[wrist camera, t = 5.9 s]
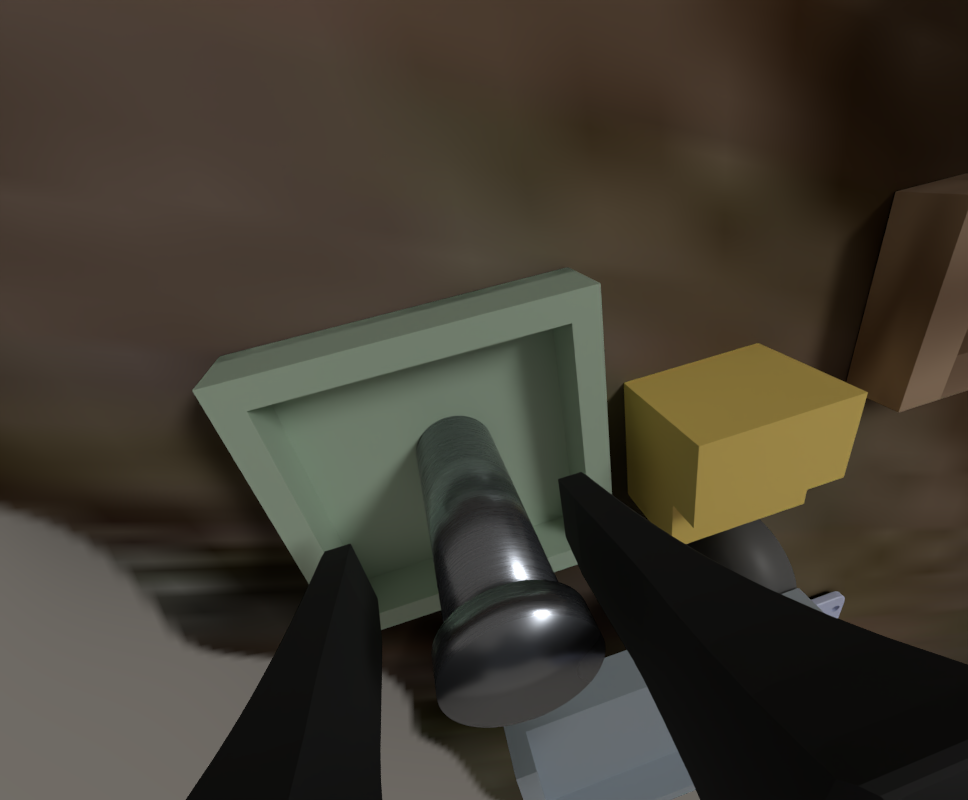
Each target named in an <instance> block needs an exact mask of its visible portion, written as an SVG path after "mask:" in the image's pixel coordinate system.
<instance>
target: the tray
mask: <svg viewBox="0 0 968 800" xmlns="http://www.w3.org/2000/svg"><path fill="white" fill-rule="evenodd" d="M192 391H193V393H194V394H195V396H196V398H197V399H198V401H199V403H200V404H201V406H202V408H203V409H204V411H205V413H206V414H207V416H208V418H209V419H210V421H211V423H212V424H213V426H214V428H215V429H216V431H217V433H218V434H219V436H220V438H221V439H222V441H223V443H224V444H225V446H226V447H227V449H228V451H229V452H230V454H231V456H232V457H233V459H234V461H235V462H236V464H237V466H238V467H239V469H240V471H241V472H242V474H243V476H244V477H245V479H246V481H247V482H248V484H249V486H250V487H251V489H252V491H253V492H254V494H255V496H256V497H257V499H258V501H259V502H260V504H261V506H262V507H263V509H264V510H265V512H266V514H267V515H268V517H269V519H270V520H271V522H272V524H273V525H274V527H275V529H276V530H277V532H278V534H279V535H280V537H281V539H282V540H283V542H284V544H285V545H286V547H287V549H288V550H289V552H290V554H291V555H292V557H293V559H294V560H295V562H296V564H297V565H298V567H299V568H300V570H301V572H302V573H303V575H304V577H305V578H306V580H307V582H308V583H310V581H311V579H312V577H313V574H314V572H315V570H316V568H317V565H318V563H319V561H320V559H321V557H322V555H323V553H324V552H325V551H328V550H331V549H334V548H338V547H341V546H344V545H347V544H350V543H351V545H352V547H353V549H354V551H355V553H356V555H357V557H358V559H359V561H360V563H361V565H362V567H363V569H364V571H365V574H366V576H367V578H368V580H369V582H370V584H371V586H372V588H373V590H374V592H375V594H376V596H377V598H378V605H379V614H380V624H381V630H383V629H386V628H389V627H392V626H395V625H398V624H401V623H404V622H407V621H410V620H413V619H416V618H419V617H422V616H425V615H428V614H431V613H434V612H437V611H440V610H441V606H440V599H439V593H438V587H437V581H436V575H435V569H434V562H433V556H432V550H431V544H430V538H429V532H428V525H427V519H426V513H425V507H424V501H423V495H422V488H421V482H420V476H419V470H418V464H417V458H416V447H417V443H418V441H419V439H420V437H421V435H422V434H423V432H424V431H425V430H426V429H427V428H428V427H429V426H431V425H432V424H433V423H435V422H437V421H439V420H441V419H443V418H446V417H451V416H467V417H471V418H474V419H476V420H478V421H480V422H481V423H482V424H484V425H485V426H486V427H487V429H488V430H489V432H490V434H491V436H492V438H493V440H494V443H495V445H496V447H497V449H498V451H499V454H500V456H501V458H502V460H503V462H504V464H505V467H506V469H507V471H508V473H509V475H510V478H511V480H512V482H513V484H514V486H515V488H516V491H517V493H518V495H519V497H520V499H521V502H522V504H523V506H524V508H525V510H526V513H527V515H528V517H529V519H530V521H531V523H532V526H533V528H534V530H535V532H536V534H537V537H538V539H539V541H540V543H541V545H542V547H543V550H544V552H545V554H546V556H547V558H548V561H549V563H550V565H551V567H552V569H553V571H554V572H556V571H559V570H562V569H565V568H568V567H571V566H574V565H577V561H576V559H575V557H574V555H573V552H572V550H571V548H570V546H569V543H568V541H567V539H566V535H565V528H564V521H563V513H562V506H561V498H560V491H559V483H558V479H560V478H563V477H566V476H569V475H573V474H576V473H579V472H582V473H584V474H586V475H587V476H588V477H590V478H591V479H592V480H594V481H595V482H596V483H597V484H599V485H600V486H601V487H603V488H604V489H605V490H607V491H608V492H609V493H610V494H612V485H611V466H610V448H609V430H608V412H607V393H606V375H605V357H604V338H603V320H602V302H601V284H600V283H599V282H597V281H595V280H593V279H591V278H589V277H587V276H585V275H583V274H580V273H578V272H576V271H574V270H572V269H570V268H568V267H567V268H563V269H559V270H555V271H551V272H547V273H543V274H540V275H536V276H532V277H528V278H524V279H520V280H516V281H512V282H508V283H504V284H500V285H497V286H493V287H489V288H485V289H481V290H477V291H473V292H469V293H465V294H461V295H458V296H454V297H450V298H446V299H442V300H438V301H434V302H430V303H426V304H422V305H419V306H415V307H411V308H407V309H403V310H399V311H395V312H391V313H387V314H383V315H379V316H376V317H372V318H368V319H364V320H360V321H356V322H352V323H348V324H344V325H340V326H337V327H333V328H329V329H325V330H321V331H317V332H313V333H309V334H305V335H301V336H298V337H294V338H290V339H286V340H282V341H278V342H274V343H270V344H266V345H262V346H258V347H255V348H251V349H247V350H243V351H239V352H235V353H231V354H227V355H223V356H220V357H219V358H218V359H217V360H216V362H215V363H214V364H213V365H212V367H211V368H210V369H209V370H208V372H207V373H206V374H205V375H204V377H203V378H202V379H201V380H200V382H199V383H198V384H197V385H196V386H195V388H194V389H193V390H192Z"/></svg>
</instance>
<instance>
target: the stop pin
mask: <svg viewBox="0 0 968 800" xmlns="http://www.w3.org/2000/svg"><path fill="white" fill-rule="evenodd" d="M416 458H417V464H418V470H419V476H420V482H421V488H422V495H423V501H424V507H425V513H426V519H427V525H428V532H429V538H430V544H431V550H432V556H433V562H434V569H435V575H436V581H437V587H438V593H439V599H440V606H441V612H442V618H443V624H442V626H441V627H440V628H439V630H438V632H437V634H436V636H435V638H434V641H433V644H432V651H431V654H432V664H433V672H434V680H435V688H436V695H437V701H438V704H439V707H440V708H441V710H442V711H443V712H444V714H445V715H446V716H448V717H449V718H450V719H452V720H454V721H456V722H458V723H460V724H464V725H467V726H473V727H482V728H493V727H504V726H509V725H515V724H519V723H523V722H526V721H529V720H532V719H535V718H538V717H540V716H543V715H545V714H547V713H549V712H551V711H553V710H555V709H557V708H559V707H560V706H562V705H564V704H565V703H567V702H568V701H570V700H571V699H573V698H574V697H575V696H576V695H578V694H579V693H580V692H581V691H582V690H583V689H584V688H586V687H587V685H588V684H589V683H590V682H591V681H592V680H593V679H594V677H595V676H596V674H597V673H598V671H599V669H600V668H601V666H602V663H603V661H604V657H605V642H604V639H603V637H602V634H601V632H600V630H599V628H598V626H597V624H596V622H595V620H594V618H593V616H592V614H591V612H590V610H589V608H588V606H587V604H586V602H585V600H584V599H583V598H582V596H581V595H580V594H579V593H578V592H577V591H576V590H574V589H573V588H571V587H569V586H567V585H565V584H562V583H559V582H558V580H557V578H556V576H555V574H554V571H553V569H552V567H551V565H550V563H549V561H548V558H547V556H546V554H545V552H544V550H543V547H542V545H541V543H540V541H539V539H538V537H537V534H536V532H535V530H534V528H533V526H532V523H531V521H530V519H529V517H528V515H527V513H526V510H525V508H524V506H523V504H522V502H521V499H520V497H519V495H518V493H517V491H516V488H515V486H514V484H513V482H512V480H511V478H510V475H509V473H508V471H507V469H506V467H505V464H504V462H503V460H502V458H501V456H500V454H499V451H498V449H497V447H496V445H495V443H494V440H493V438H492V436H491V434H490V432H489V430H488V429H487V427H486V426H485V425H484V424H482V423H481V422H480V421H478V420H476V419H474V418H471V417H467V416H451V417H446V418H443V419H441V420H439V421H437V422H435V423H433V424H432V425H431V426H429V427H428V428H427V429H426V430H425V431H424V432H423V434H422V435H421V437H420V439H419V441H418V443H417V447H416Z"/></svg>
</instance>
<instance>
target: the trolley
mask: <svg viewBox="0 0 968 800" xmlns="http://www.w3.org/2000/svg"><path fill="white" fill-rule="evenodd" d="M686 545H688V546H689V547H691V548H693V549H694V550H696V551H698V552H699V553H701V554H703V555H705V556H706V557H708V558H710V559H712V560H714V561H715V562H717V563H719V564H721V565H723V566H725V567H727V568H728V569H730V570H732V571H734V572H736V573H738V574H740V575H742V576H744V577H746V578H748V579H750V580H752V581H754V582H756V583H758V584H760V585H762V586H764V587H766V588H768V589H770V590H773V591H775V592H777V593H779V594H782V595H784V596H786V597H789V598H791V599H793V600H795V601H798V602H800V603H802V604H805V605H807V606H809V607H811V608H814V609H816V610H818V611H821V612H823V611H822V610H821V609H820V608H819V607H818V606H817V605H816V604H815V603H814V602H813V601H812V600H811V599H810V598H808V597H807V596H806V595H805V594H804V593H803V592H802V591H801V590H800V589H799V588H796V580H795V576H794V573H793V570H792V567H791V564H790V562H789V560H788V557H787V556H786V554H785V552H784V550H783V548H782V547H781V545H780V543H779V542H778V540H777V539H776V537H775V536H774V535H773V534H772V532H771V531H770V530H769V529H768V528H767V526H766V525H765V524H764V523H763V522H762V521H761V520H760V519H758V520H755V521H752V522H749V523H746V524H743V525H740V526H737V527H734V528H731V529H729V530H726V531H723V532H720V533H717V534H714V535H711V536H708V537H705V538H702V539H700V540H697V541H694V542H691V543H688V544H686ZM823 613H824V612H823ZM504 730H505V734H506V739H507V743H508V747H509V751H510V755H511V759H512V764H513V768H514V772H515V776H516V780H517V783H518V786H519V788H520V791H521V794H522V797H523V800H672V799H674V798H677V797H679V796H682V795H684V794H687V793H689V792H691V791H694V790H696V789H695V787H694V785H693V782H692V780H691V778H690V776H689V774H688V771H687V769H686V767H685V765H684V763H683V761H682V759H681V757H680V754H679V752H678V750H677V748H676V746H675V744H674V742H673V740H672V737H671V735H670V733H669V731H668V729H667V727H666V725H665V723H664V721H663V718H662V716H661V714H660V712H659V710H658V708H657V706H656V704H655V702H654V700H653V698H652V696H651V694H650V692H649V690H648V687H647V685H646V683H645V681H644V679H643V677H642V676H641V674H640V672H639V670H638V668H637V666H636V665H635V663H634V661H633V659H632V657H631V656H630V654H629V652H628V651H627V650H625V651H622V652H620V653H617V654H614V655H611V656H608V657H606V658H604V661H603V663H602V666H601V668H600V669H599V671H598V673H597V674H596V676H595V677H594V679H593V680H592V681H591V682H590V683H589V684H588V685H587V687H586V688H584V689H583V690H582V691H581V692H580V693H579V694H578V695H576V696H575V697H574V698H573V699H571V700H570V701H568V702H567V703H565V704H564V705H562V706H560V707H559V708H557V709H555V710H553V711H551V712H549V713H547V714H545V715H543V716H540V717H538V718H535V719H532V720H529V721H526V722H523V723H519V724H515V725H509V726H504Z"/></svg>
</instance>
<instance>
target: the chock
mask: <svg viewBox="0 0 968 800" xmlns="http://www.w3.org/2000/svg"><path fill="white" fill-rule="evenodd" d="M867 394H868V392H866V391H864V390H862V389H859V388H857V387H855V386H853V385H851V384H848V383H846V382H844V381H842V380H839V379H837V378H835V377H833V376H830V375H828V374H826V373H824V372H821V371H819V370H817V369H815V368H813V367H810V366H808V365H806V364H804V363H801V362H799V361H797V360H795V359H792V358H790V357H788V356H786V355H784V354H781V353H779V352H777V351H775V350H772V349H770V348H768V347H766V346H763V345H761V344H759V343H757V344H753V345H750V346H747V347H743V348H740V349H736V350H733V351H730V352H726V353H723V354H720V355H716V356H713V357H710V358H706V359H703V360H699V361H696V362H693V363H689V364H686V365H683V366H679V367H676V368H672V369H669V370H666V371H662V372H659V373H656V374H652V375H649V376H646V377H642V378H639V379H635V380H632V381H629V382H625V383H624V402H625V428H626V454H627V480H628V495H629V496H630V497H631V499H632V500H633V501H634V502H635V504H636V505H637V506H638V508H639V509H640V510H641V511H642V513H643V514H644V515H645V516H646V518H647V519H648V520H649V521H650V522H651V523H653V524H654V525H656V526H657V527H659V528H660V529H662V530H664V531H665V532H667V533H668V534H670V535H671V536H673V537H675V538H676V539H678V540H679V541H681V542H683V543H684V544H688V543H691V542H694V541H697V540H700V539H702V538H705V537H708V536H711V535H714V534H717V533H720V532H723V531H726V530H729V529H731V528H734V527H737V526H740V525H743V524H746V523H749V522H752V521H755V520H758V519H761V518H763V517H766V516H769V515H772V514H775V513H778V512H781V511H784V510H787V509H790V508H793V507H795V506H798V505H801V504H804V501H805V496H806V492H807V490H808V489H811V488H814V487H817V486H820V485H822V484H825V483H828V482H831V481H834V480H837V479H840V478H843V477H844V474H845V471H846V467H847V464H848V460H849V457H850V453H851V450H852V446H853V443H854V439H855V436H856V433H857V429H858V426H859V422H860V419H861V415H862V412H863V408H864V405H865V401H866V398H867Z"/></svg>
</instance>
